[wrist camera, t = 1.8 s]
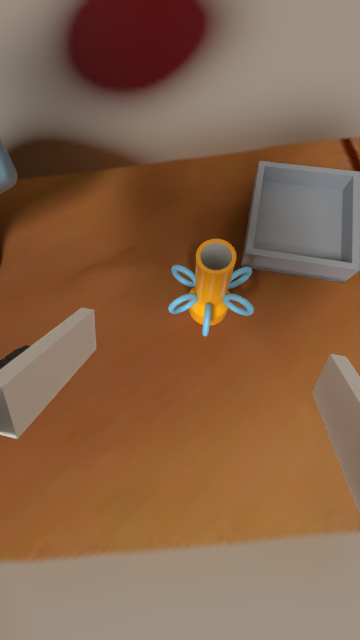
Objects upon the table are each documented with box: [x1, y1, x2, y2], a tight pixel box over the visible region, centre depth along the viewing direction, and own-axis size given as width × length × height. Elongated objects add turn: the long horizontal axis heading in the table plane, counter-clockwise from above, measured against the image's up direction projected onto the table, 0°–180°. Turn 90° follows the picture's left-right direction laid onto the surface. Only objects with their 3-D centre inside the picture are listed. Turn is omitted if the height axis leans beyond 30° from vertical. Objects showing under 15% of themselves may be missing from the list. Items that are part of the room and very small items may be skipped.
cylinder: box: [168, 239, 254, 336], centre depth 32 cm, size 12×10×15 cm
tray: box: [241, 161, 360, 283], centre depth 41 cm, size 16×18×4 cm
